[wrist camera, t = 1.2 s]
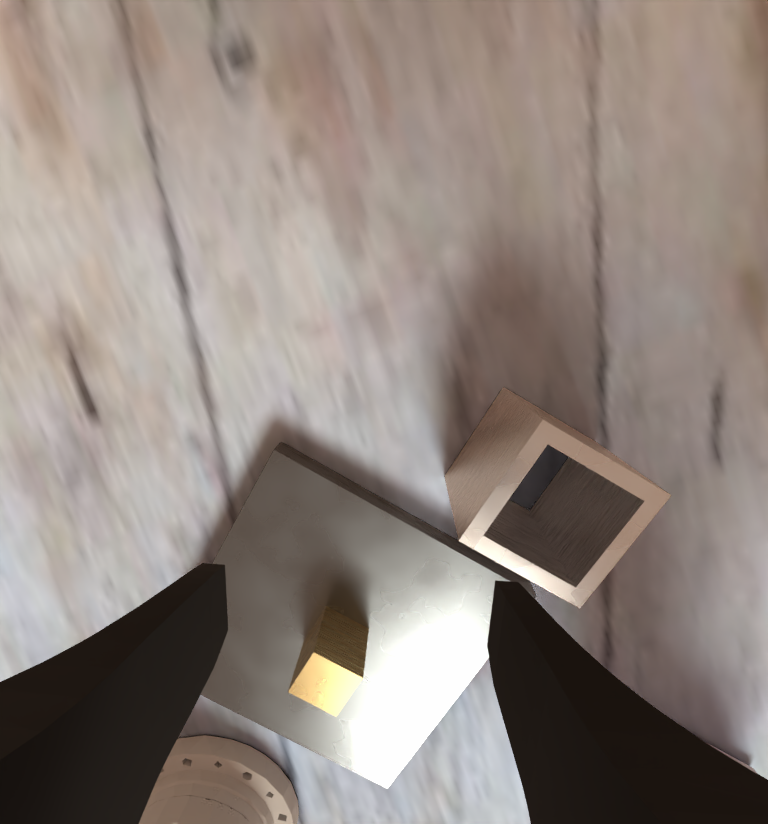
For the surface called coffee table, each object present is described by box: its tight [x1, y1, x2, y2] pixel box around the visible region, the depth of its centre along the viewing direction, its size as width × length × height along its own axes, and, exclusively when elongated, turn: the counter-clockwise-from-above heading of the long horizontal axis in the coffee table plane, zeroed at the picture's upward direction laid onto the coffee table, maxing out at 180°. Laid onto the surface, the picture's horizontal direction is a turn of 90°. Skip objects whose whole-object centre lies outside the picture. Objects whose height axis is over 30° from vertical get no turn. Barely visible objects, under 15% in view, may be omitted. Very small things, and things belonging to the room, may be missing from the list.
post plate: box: [200, 442, 536, 789], centre depth 21 cm, size 14×14×4 cm
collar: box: [444, 387, 671, 608], centre depth 18 cm, size 5×5×6 cm
